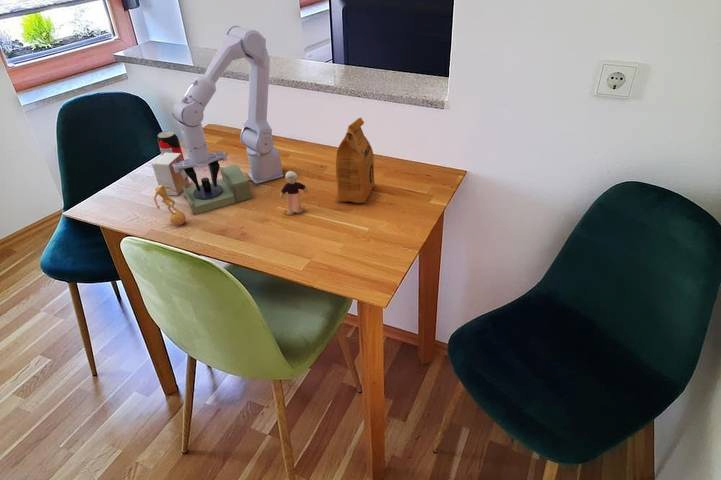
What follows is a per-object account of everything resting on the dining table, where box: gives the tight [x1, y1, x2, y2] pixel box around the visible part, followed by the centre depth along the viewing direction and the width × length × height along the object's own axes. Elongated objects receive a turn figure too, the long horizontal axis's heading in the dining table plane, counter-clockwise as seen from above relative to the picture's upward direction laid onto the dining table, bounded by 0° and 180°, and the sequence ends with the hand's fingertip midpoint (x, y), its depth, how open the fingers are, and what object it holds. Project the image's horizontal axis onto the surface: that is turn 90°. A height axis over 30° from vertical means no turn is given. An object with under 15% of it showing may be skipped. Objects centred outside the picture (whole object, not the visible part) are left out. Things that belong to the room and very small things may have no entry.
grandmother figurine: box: [279, 170, 308, 216], centre depth 132 cm, size 8×4×13 cm, turn 117°
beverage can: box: [157, 130, 185, 160], centre depth 157 cm, size 6×6×12 cm
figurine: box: [153, 185, 186, 226], centre depth 129 cm, size 8×6×12 cm
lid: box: [193, 177, 223, 200], centre depth 140 cm, size 8×8×4 cm
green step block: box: [182, 163, 253, 215], centre depth 142 cm, size 17×12×6 cm
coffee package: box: [335, 117, 375, 204], centre depth 135 cm, size 10×12×22 cm
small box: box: [151, 152, 190, 196], centre depth 145 cm, size 8×6×10 cm
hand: (206, 187), depth 140 cm, fingers open, 4 cm apart
